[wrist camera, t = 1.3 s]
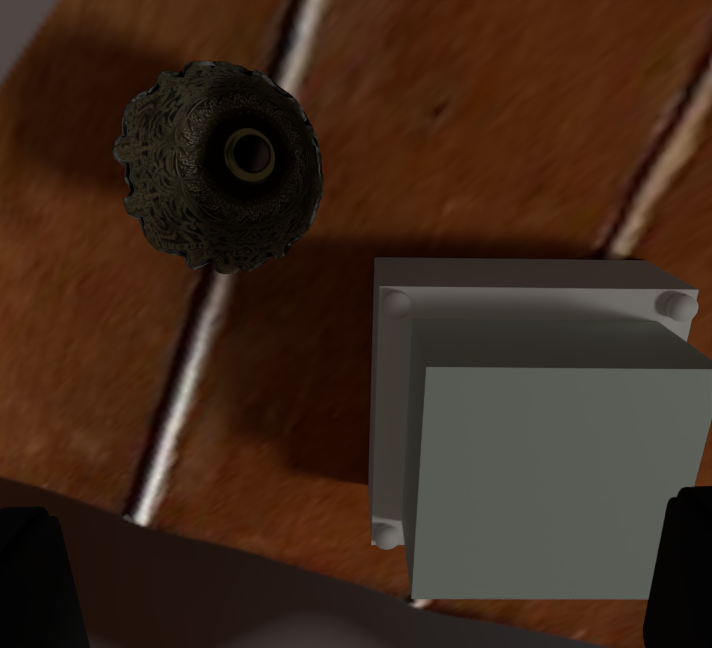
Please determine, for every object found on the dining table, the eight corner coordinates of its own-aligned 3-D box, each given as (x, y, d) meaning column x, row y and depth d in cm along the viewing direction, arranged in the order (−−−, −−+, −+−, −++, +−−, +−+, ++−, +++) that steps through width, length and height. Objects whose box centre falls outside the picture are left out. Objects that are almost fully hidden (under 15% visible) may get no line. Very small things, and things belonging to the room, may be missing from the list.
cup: (333, 227, 30) (329, 270, 22) (187, 234, 30) (134, 280, 22) (323, 65, 27) (314, 54, 20) (163, 74, 27) (93, 65, 20)
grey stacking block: (374, 257, 30) (386, 328, 21) (645, 260, 31) (775, 332, 21) (368, 485, 35) (375, 625, 26) (600, 486, 36) (691, 625, 26)
